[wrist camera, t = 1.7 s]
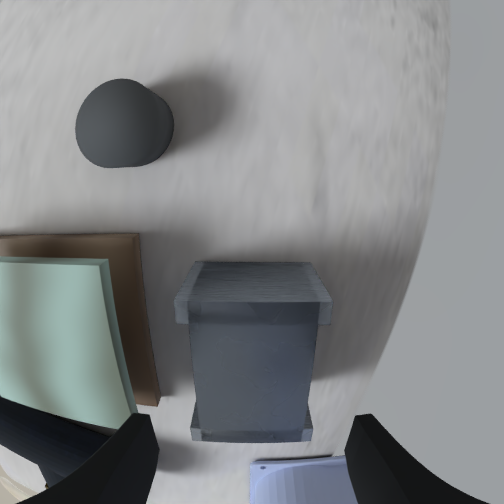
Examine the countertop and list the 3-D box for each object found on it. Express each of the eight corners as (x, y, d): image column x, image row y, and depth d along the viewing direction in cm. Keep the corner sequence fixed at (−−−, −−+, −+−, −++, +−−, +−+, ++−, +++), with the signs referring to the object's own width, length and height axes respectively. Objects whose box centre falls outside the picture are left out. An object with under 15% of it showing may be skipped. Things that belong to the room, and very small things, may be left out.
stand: (138, 233, 16) (107, 254, 12) (160, 397, 19) (146, 439, 15) (-11, 236, 16) (-50, 251, 12) (24, 371, 19) (-1, 400, 15)
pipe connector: (140, 537, 18) (8, 482, 18) (150, 498, 24) (27, 452, 23) (131, 485, 16) (-30, 409, 15) (148, 435, 21) (0, 377, 20)
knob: (175, 88, 14) (159, 73, 11) (173, 164, 15) (157, 165, 12) (104, 97, 14) (77, 86, 11) (103, 169, 15) (75, 171, 12)
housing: (195, 261, 17) (174, 300, 12) (310, 262, 17) (332, 301, 12) (203, 382, 19) (192, 440, 14) (299, 383, 19) (310, 440, 14)
